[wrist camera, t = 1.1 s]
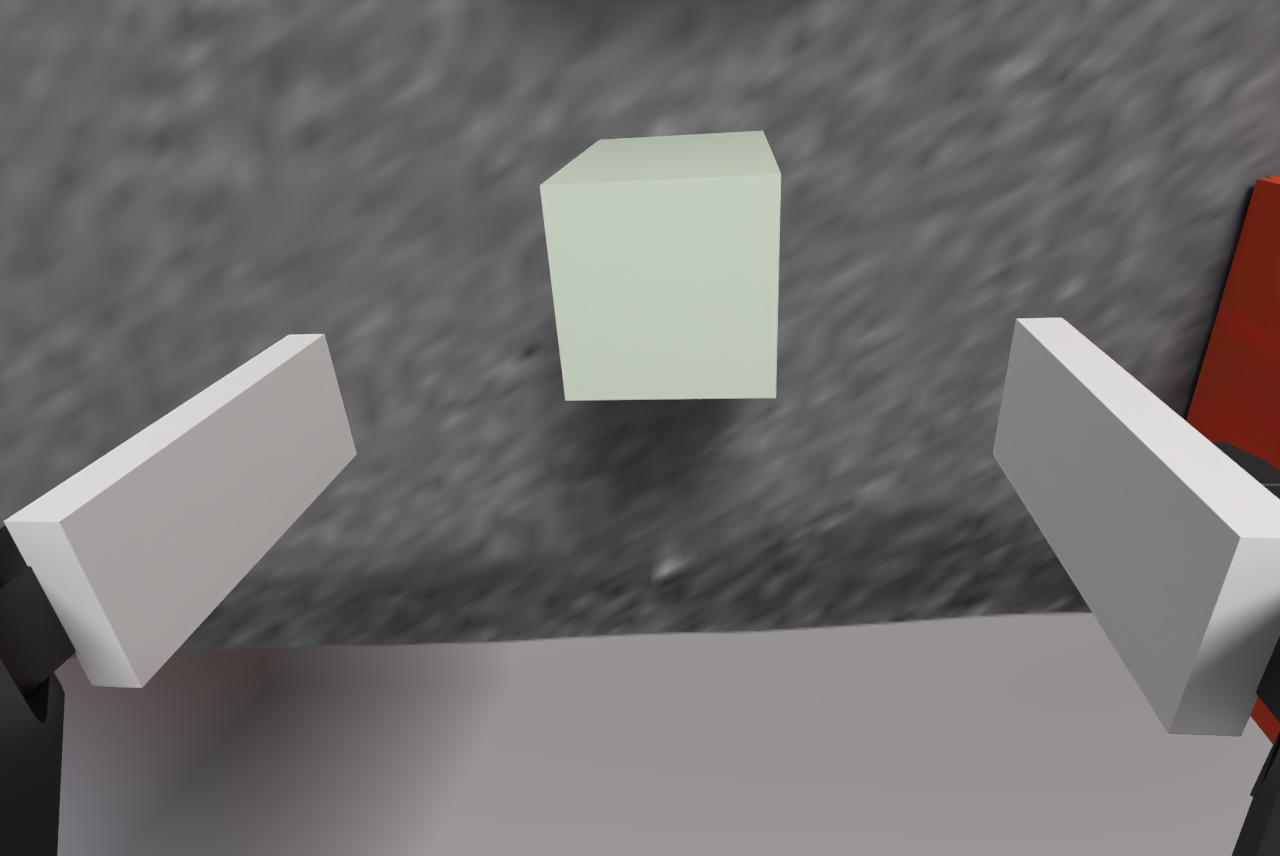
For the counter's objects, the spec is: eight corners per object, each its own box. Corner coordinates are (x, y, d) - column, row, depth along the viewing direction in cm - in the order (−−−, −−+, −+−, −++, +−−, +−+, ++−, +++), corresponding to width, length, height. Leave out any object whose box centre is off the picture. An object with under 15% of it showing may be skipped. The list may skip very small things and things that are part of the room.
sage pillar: (612, 296, 30) (565, 400, 22) (599, 139, 28) (539, 185, 19) (760, 291, 30) (775, 397, 21) (763, 130, 27) (781, 173, 18)
